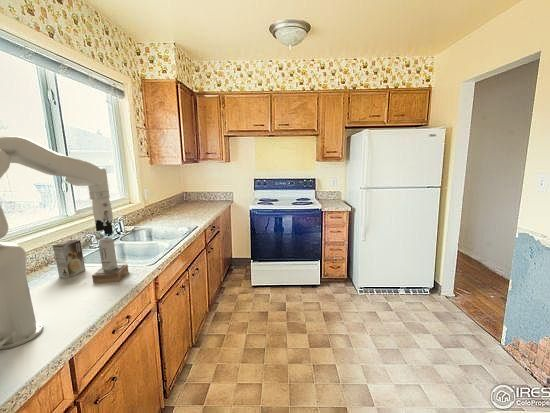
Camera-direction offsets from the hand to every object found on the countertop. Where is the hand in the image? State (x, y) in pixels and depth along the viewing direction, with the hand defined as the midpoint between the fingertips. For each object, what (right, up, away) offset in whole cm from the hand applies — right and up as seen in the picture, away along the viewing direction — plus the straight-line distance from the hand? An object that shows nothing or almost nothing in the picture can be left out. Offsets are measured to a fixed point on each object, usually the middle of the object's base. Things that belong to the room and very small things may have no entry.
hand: (104, 232), depth 127 cm
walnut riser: (+1, -22, +5) cm, 23 cm away
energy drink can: (0, -18, +4) cm, 18 cm away
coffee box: (-22, -22, +10) cm, 33 cm away
